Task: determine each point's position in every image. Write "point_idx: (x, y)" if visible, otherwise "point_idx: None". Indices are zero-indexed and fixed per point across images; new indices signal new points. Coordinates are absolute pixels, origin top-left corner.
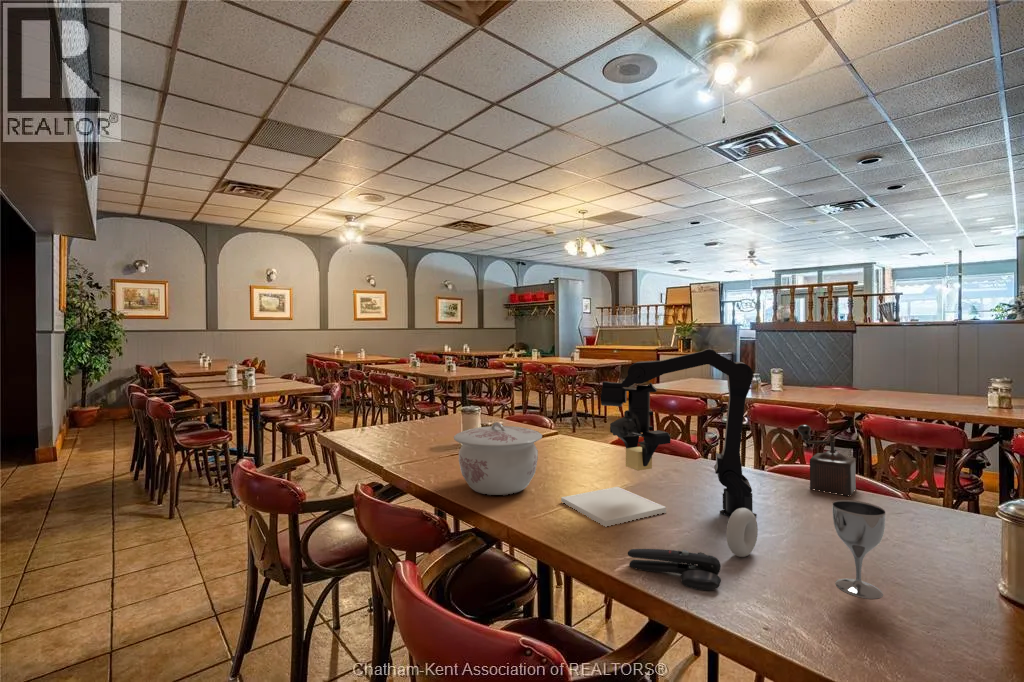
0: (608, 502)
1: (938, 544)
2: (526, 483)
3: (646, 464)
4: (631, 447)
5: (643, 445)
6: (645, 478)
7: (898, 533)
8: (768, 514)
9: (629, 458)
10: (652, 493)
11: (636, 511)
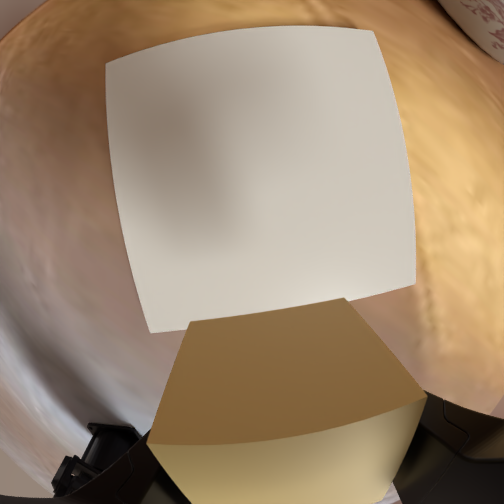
0: (269, 143)
1: (49, 483)
2: (453, 6)
3: None
4: (414, 453)
5: (11, 500)
6: None
7: None
8: None
9: (315, 349)
10: None
11: (136, 203)
